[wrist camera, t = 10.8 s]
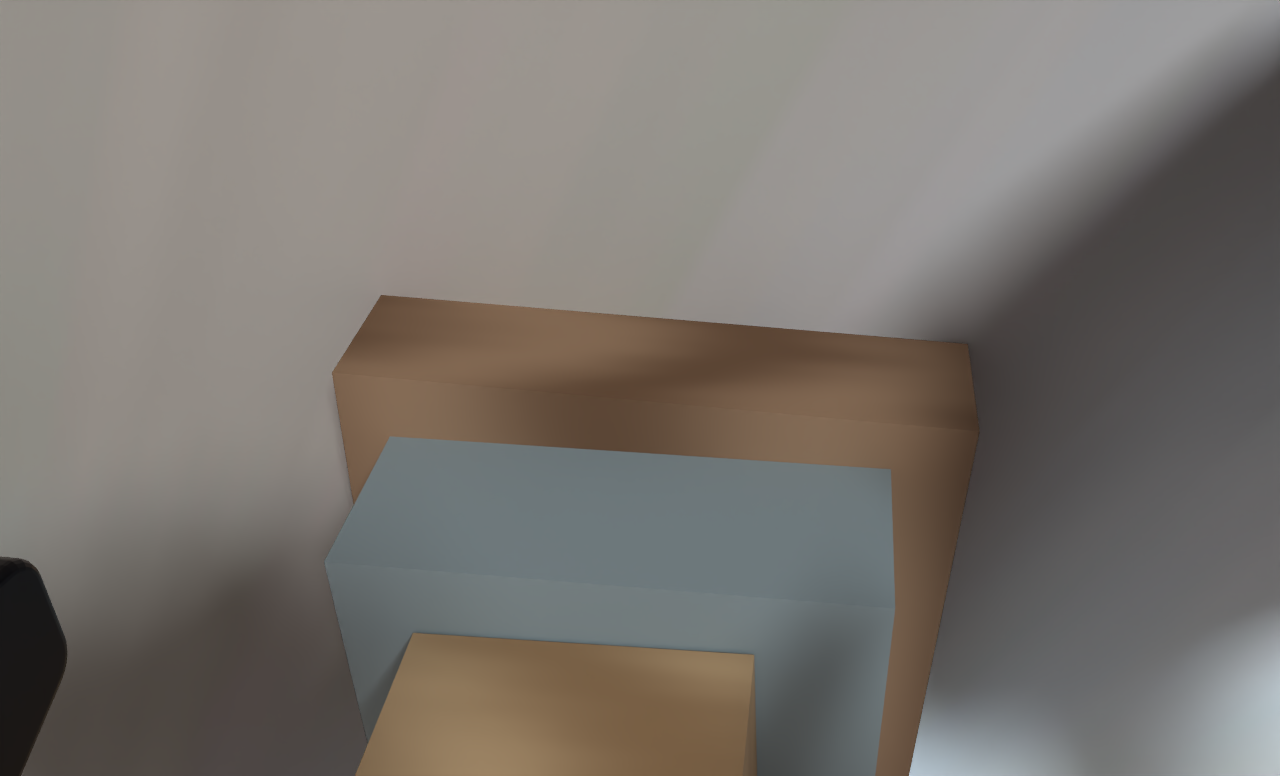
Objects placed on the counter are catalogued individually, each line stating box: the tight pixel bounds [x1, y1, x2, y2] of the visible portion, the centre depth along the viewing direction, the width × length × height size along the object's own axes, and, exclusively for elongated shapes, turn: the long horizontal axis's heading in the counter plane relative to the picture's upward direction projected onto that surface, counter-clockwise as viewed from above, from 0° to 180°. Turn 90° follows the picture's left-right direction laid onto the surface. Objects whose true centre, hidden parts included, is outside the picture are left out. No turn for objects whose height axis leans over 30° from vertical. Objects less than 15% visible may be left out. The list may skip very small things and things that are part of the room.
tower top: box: [324, 436, 895, 776], centre depth 20 cm, size 8×8×3 cm
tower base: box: [332, 295, 980, 776], centre depth 23 cm, size 10×10×3 cm
